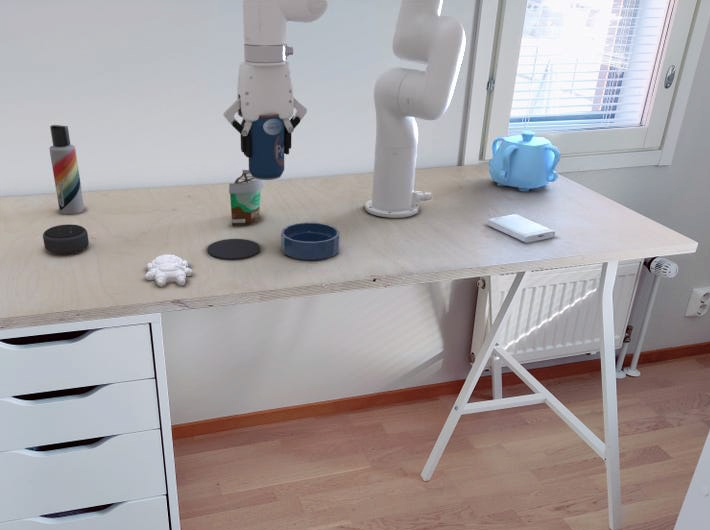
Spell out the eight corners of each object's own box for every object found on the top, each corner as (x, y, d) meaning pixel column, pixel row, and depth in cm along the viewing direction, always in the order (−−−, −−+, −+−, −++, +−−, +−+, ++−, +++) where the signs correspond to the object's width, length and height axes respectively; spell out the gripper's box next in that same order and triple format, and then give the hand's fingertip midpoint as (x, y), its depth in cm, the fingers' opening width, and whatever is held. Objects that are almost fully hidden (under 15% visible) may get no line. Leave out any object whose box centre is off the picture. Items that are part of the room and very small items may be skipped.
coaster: (252, 238, 153) (252, 236, 153) (266, 256, 144) (266, 254, 144) (202, 243, 151) (202, 241, 150) (213, 262, 142) (213, 260, 141)
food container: (257, 230, 158) (256, 185, 153) (230, 228, 159) (228, 184, 154) (269, 212, 168) (269, 170, 163) (244, 210, 169) (243, 168, 164)
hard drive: (487, 218, 159) (526, 236, 150) (516, 213, 163) (555, 230, 153) (486, 226, 160) (525, 243, 151) (515, 220, 163) (554, 237, 154)
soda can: (285, 180, 137) (285, 116, 131) (249, 181, 136) (247, 116, 130) (282, 170, 143) (282, 108, 137) (248, 171, 142) (246, 109, 136)
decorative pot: (490, 192, 182) (498, 138, 175) (485, 174, 196) (492, 124, 189) (556, 195, 180) (566, 141, 173) (546, 177, 193) (556, 126, 186)
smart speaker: (68, 259, 143) (64, 241, 141) (36, 251, 147) (32, 233, 145) (98, 245, 150) (95, 227, 148) (67, 238, 153) (64, 220, 151)
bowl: (327, 237, 154) (327, 220, 152) (346, 257, 144) (347, 238, 142) (274, 243, 151) (274, 225, 149) (291, 264, 141) (291, 245, 139)
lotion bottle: (54, 213, 168) (39, 126, 158) (69, 206, 172) (56, 121, 162) (74, 216, 166) (61, 128, 156) (89, 208, 171) (76, 123, 161)
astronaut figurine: (144, 288, 131) (142, 273, 129) (148, 263, 141) (146, 249, 140) (192, 286, 132) (191, 271, 130) (192, 261, 142) (191, 247, 140)
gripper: (303, 50, 134) (302, 146, 143) (213, 54, 129) (218, 153, 138) (317, 55, 128) (315, 155, 137) (223, 59, 123) (227, 162, 132)
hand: (266, 153), depth 137 cm, fingers closed on soda can, 7 cm apart
